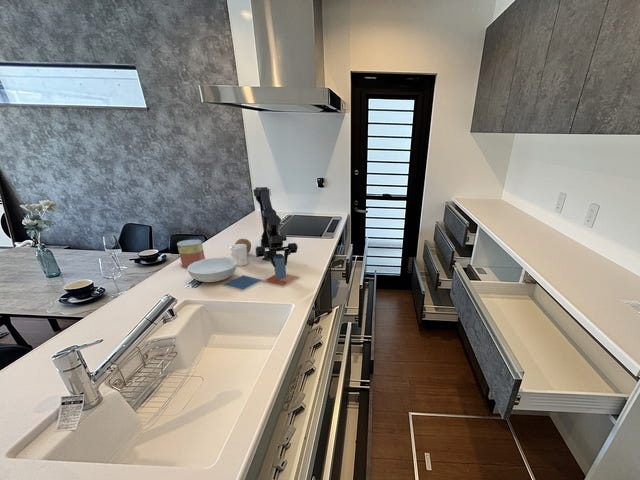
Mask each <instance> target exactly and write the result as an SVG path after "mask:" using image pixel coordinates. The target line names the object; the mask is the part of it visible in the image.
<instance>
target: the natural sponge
mask: <svg viewBox="0 0 640 480" xmlns="http://www.w3.org/2000/svg"><path fill="white" fill-rule="evenodd" d="M235 244H245V245H246V247H247V255H248V254H250V252H251V249H252V242H251V241H250V240H249V239H248V238H239V239H238V240H236V241H235V243H234V245H235Z"/></svg>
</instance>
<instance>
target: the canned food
mask: <svg viewBox="0 0 640 480" xmlns="http://www.w3.org/2000/svg"><path fill="white" fill-rule="evenodd" d="M176 246H177V250H178V254H179V259H180V262H181V267H182V268H185V269H187V268H188V266H189V265H190V264H192V263H194V262H196V261H200V260H203V259H206V256H205V252H204V247H203V240H201V239H196V238H195V239H193V238H192V239H184V240H181V241H180V240H179V241H178V242H177V243H176Z"/></svg>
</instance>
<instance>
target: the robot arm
mask: <svg viewBox="0 0 640 480" xmlns="http://www.w3.org/2000/svg"><path fill="white" fill-rule="evenodd" d="M271 190H272V189H271V188H268V186H264V187H263V186H257V187H255V188H254V189H253V197H255V201H256V202H257V203H258V205H259V210H260V217H261V224H262V229H263V231H262V234H261V237H260V238H261V239H260V246H256V247H255V256H256V258H261V259H262V260H265V261H269V262H270V264H271V265H272V267H273V268H274V267H275V264H274V258H273V257H274V256H275V255H276V254H278V253H277V252H283V256H284V257H285V266H287V265H288V258H289V256H290V255H291V254H296V253H297V252H298V248H299V246H298V244H297V243H296V242H290V243H287V246H284V242H286V241H287V240H288V238H287V233H280V227H281V222H282V218H281V217H280V216H279V215H278V214H277V211H276V210H275V208H273V206H272V201H271V196H272V191H271Z"/></svg>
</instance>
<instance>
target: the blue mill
mask: <svg viewBox="0 0 640 480" xmlns="http://www.w3.org/2000/svg"><path fill="white" fill-rule="evenodd" d="M273 258H274V260H273V261H274V264H275V267H273V268H274V275H275V277H276V278H277V279H284V278H286V274H287V265H285V257H284V253H283V254H282V253H277V254H276V255H275V256H274V257H273Z"/></svg>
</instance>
